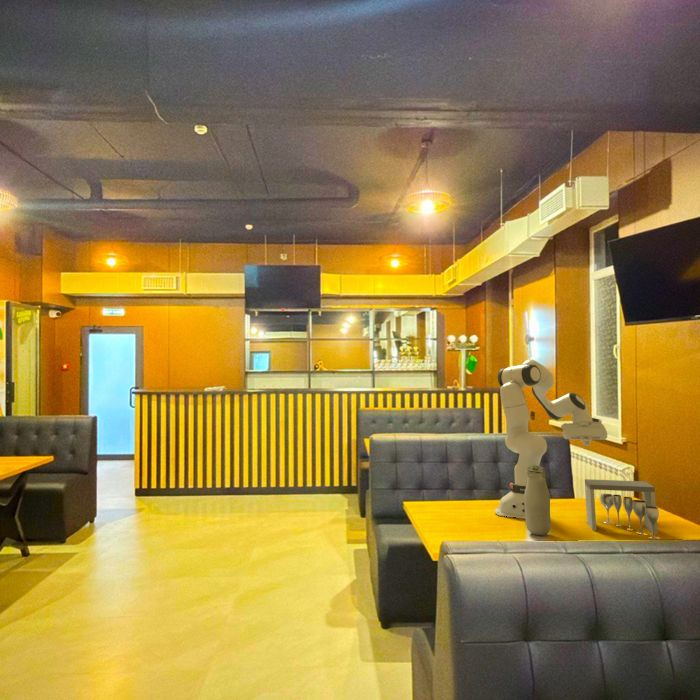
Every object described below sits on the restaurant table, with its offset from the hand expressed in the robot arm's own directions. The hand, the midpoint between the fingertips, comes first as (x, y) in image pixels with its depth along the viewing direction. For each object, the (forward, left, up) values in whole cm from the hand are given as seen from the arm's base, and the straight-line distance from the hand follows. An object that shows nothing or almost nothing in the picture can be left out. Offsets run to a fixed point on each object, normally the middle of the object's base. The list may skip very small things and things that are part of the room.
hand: (587, 444), depth 232 cm
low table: (+6, -31, -31) cm, 45 cm away
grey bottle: (-28, -48, -32) cm, 64 cm away
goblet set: (+9, -32, -32) cm, 46 cm away
